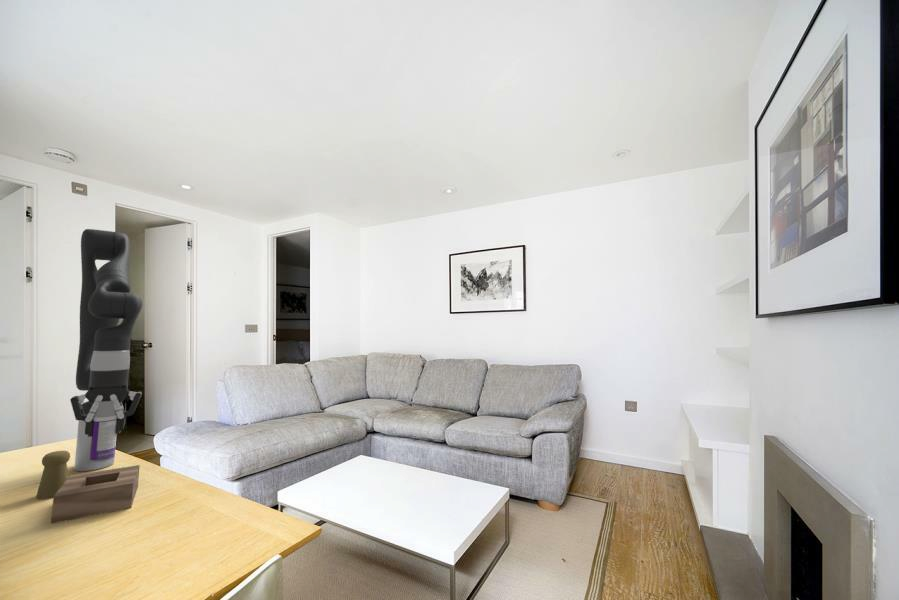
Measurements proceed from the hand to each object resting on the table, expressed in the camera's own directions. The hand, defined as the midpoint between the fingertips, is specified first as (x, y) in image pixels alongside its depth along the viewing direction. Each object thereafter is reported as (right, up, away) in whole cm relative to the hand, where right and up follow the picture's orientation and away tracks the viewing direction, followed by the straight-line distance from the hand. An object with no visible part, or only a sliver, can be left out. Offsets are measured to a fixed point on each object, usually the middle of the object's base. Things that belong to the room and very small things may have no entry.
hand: (104, 434), depth 95 cm
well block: (0, -17, -1) cm, 17 cm away
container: (0, -7, 0) cm, 7 cm away
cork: (-17, -17, +3) cm, 24 cm away
